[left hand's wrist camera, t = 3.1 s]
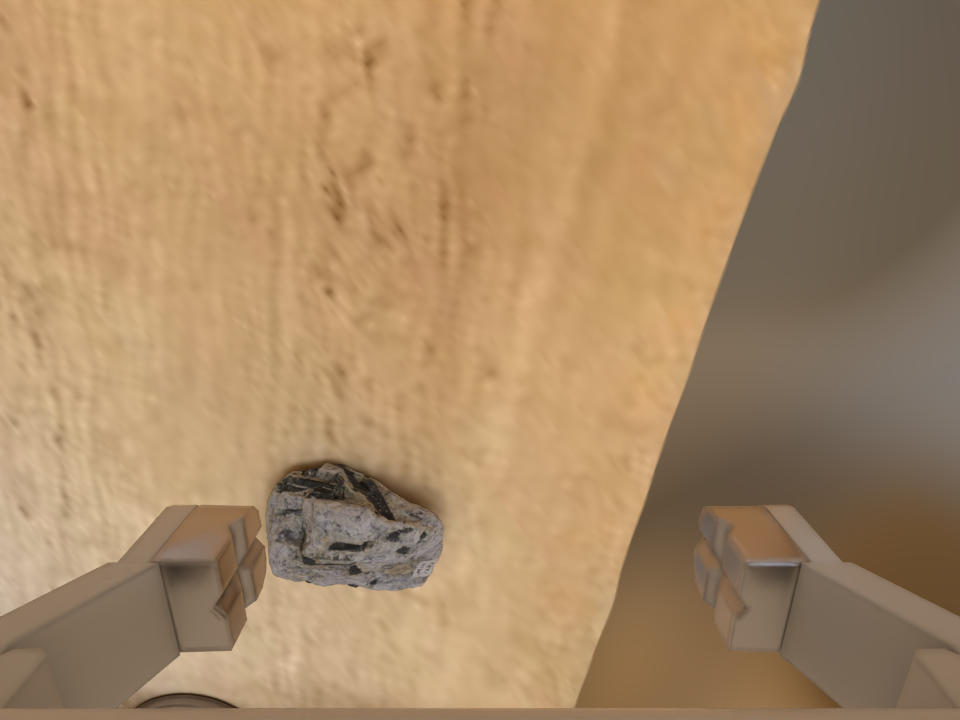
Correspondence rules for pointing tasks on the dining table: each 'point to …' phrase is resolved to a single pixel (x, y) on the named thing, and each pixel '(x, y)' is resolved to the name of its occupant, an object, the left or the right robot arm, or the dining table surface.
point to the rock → (349, 532)
